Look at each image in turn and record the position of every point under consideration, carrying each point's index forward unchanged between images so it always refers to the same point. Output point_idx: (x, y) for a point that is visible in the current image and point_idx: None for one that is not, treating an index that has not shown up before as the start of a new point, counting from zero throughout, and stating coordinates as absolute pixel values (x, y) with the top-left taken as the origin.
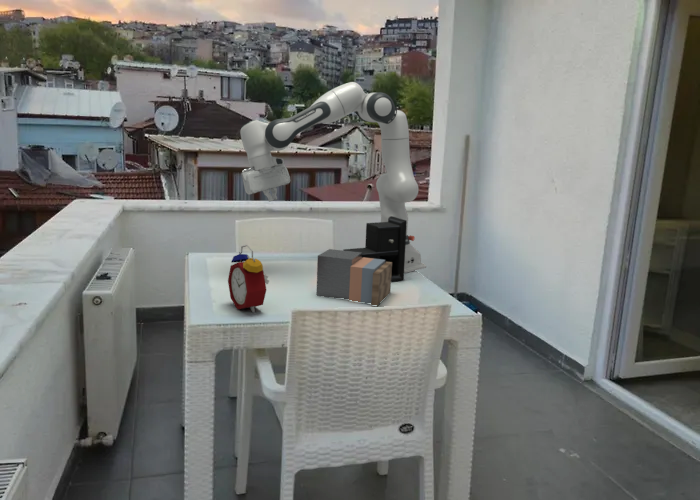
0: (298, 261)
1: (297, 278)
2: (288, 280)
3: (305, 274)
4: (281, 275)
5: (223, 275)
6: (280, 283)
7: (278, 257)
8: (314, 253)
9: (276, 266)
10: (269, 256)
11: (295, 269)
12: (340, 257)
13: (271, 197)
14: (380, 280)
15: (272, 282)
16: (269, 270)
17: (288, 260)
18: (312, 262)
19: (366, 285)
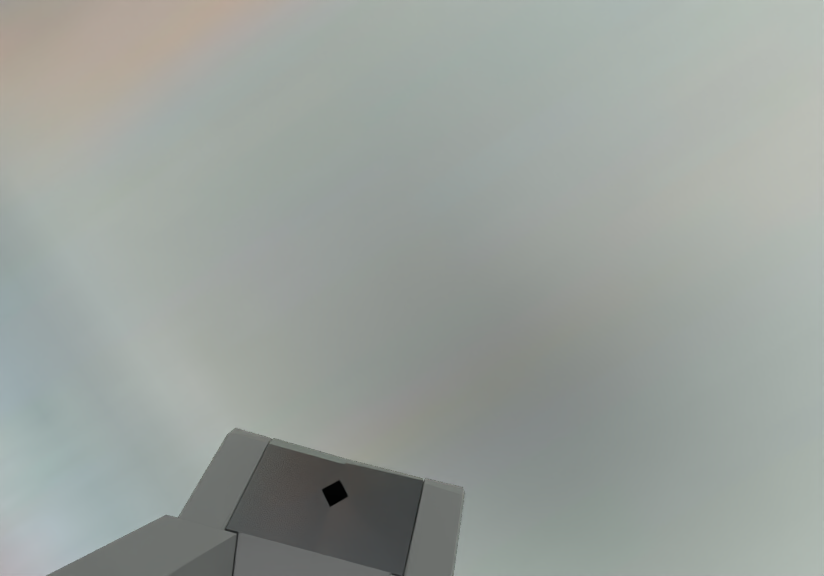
0: (101, 300)
1: (546, 17)
2: (645, 41)
3: (400, 36)
4: (537, 177)
5: (804, 561)
6: (770, 40)
7: (92, 485)
8: None
9: (322, 359)
10: None
11: (314, 188)
12: None
13: (434, 546)
14: None
15: (778, 113)
16: (457, 339)
17: (120, 377)
18: (65, 196)
19: None
